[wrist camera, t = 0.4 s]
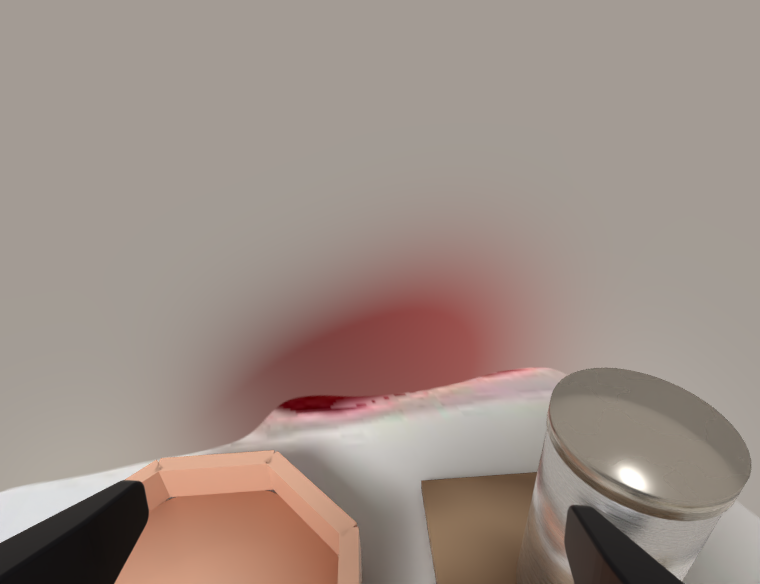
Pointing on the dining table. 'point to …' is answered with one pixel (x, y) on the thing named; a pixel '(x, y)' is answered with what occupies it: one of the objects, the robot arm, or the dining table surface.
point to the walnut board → (477, 526)
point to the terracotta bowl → (240, 525)
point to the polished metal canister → (631, 469)
